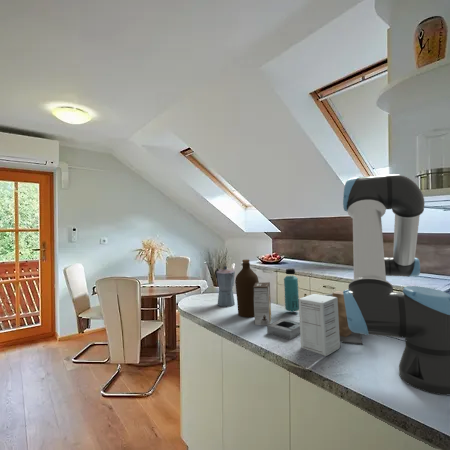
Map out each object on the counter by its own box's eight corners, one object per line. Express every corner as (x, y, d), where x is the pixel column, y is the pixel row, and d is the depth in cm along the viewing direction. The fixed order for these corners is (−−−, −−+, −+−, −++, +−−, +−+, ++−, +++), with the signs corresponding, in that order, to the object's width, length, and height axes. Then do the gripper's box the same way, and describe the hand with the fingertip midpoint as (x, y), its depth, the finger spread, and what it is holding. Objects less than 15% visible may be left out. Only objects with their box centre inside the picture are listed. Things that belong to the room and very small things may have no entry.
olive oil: (249, 319, 138) (246, 262, 137) (232, 315, 145) (229, 260, 145) (264, 313, 145) (262, 259, 145) (247, 309, 153) (245, 257, 152)
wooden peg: (351, 333, 114) (349, 292, 114) (346, 337, 111) (344, 294, 111) (339, 331, 118) (337, 290, 117) (334, 334, 114) (332, 293, 114)
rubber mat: (362, 344, 106) (362, 342, 106) (325, 341, 110) (324, 340, 110) (359, 330, 119) (359, 328, 119) (325, 328, 123) (325, 326, 123)
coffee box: (256, 319, 138) (255, 282, 138) (271, 319, 137) (270, 282, 136) (254, 326, 129) (252, 286, 129) (270, 326, 128) (268, 286, 127)
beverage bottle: (292, 315, 140) (290, 270, 140) (281, 312, 146) (280, 269, 145) (302, 312, 144) (300, 268, 143) (292, 309, 149) (290, 267, 149)
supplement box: (341, 348, 104) (339, 297, 104) (326, 357, 98) (323, 303, 97) (315, 340, 111) (313, 292, 111) (299, 349, 105) (297, 298, 105)
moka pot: (228, 309, 155) (226, 268, 154) (208, 304, 166) (206, 266, 166) (242, 305, 161) (240, 265, 161) (222, 300, 173) (220, 263, 172)
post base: (304, 332, 119) (304, 323, 119) (290, 340, 112) (290, 331, 112) (282, 327, 126) (282, 318, 126) (267, 334, 119) (266, 325, 119)
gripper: (395, 308, 119) (375, 324, 103) (331, 299, 136) (306, 311, 121) (394, 288, 119) (374, 301, 103) (331, 282, 136) (305, 291, 121)
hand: (337, 306), depth 112 cm, fingers open, 13 cm apart
